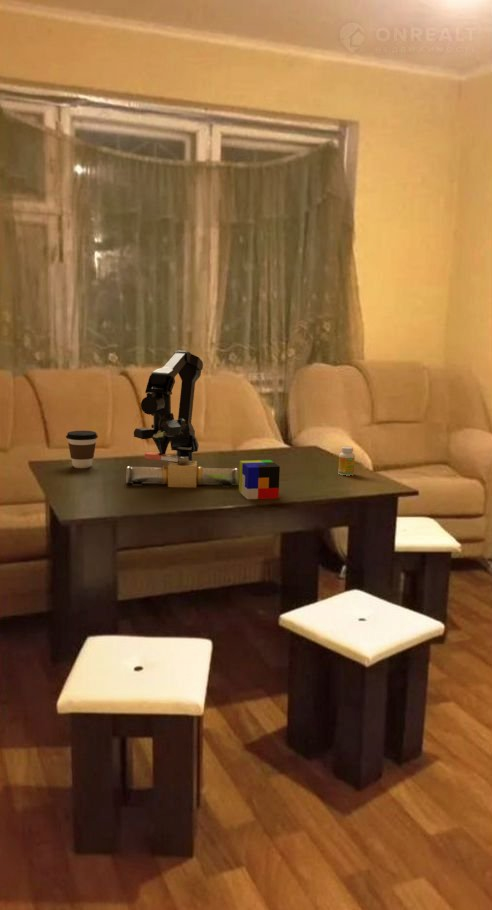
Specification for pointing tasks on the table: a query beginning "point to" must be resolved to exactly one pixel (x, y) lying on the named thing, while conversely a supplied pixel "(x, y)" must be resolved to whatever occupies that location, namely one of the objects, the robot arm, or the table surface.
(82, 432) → the coffee cup
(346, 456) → the supplement bottle
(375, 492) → the table surface
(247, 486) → the puzzle toy
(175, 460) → the lever
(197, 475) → the valve
